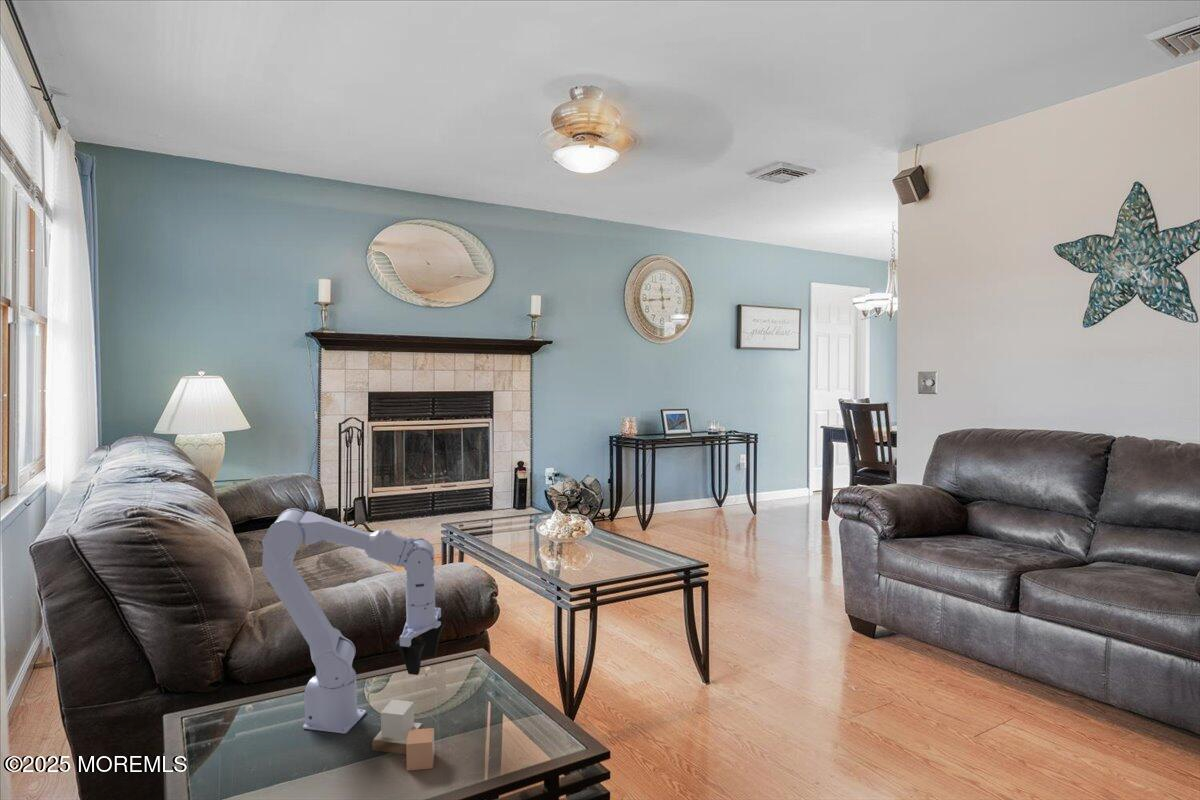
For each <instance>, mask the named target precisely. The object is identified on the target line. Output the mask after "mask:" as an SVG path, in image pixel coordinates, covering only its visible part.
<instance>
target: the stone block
mask: <svg viewBox="0 0 1200 800" xmlns="http://www.w3.org/2000/svg"><path fill="white" fill-rule="evenodd" d="M414 723H415V702H414V701H409V700H400V699H391V700H390V701H389V702H388V703H387V705H386V706H385V707H384V708H383V709H382V711H380V731H381V737H383V738H391V739H399V740H404V739H405V738H406V737H407V735H408V732H409V730H412V729H413V727H414Z"/></svg>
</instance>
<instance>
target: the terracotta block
mask: <svg viewBox="0 0 1200 800" xmlns="http://www.w3.org/2000/svg"><path fill="white" fill-rule="evenodd" d="M435 752H436V751H435V727H428V728H423V729H415V730H409V732H408V738H407V743H406V754H405V755H406V771H418V770H419V771H420V770H427V769H433V768H434V761H435Z"/></svg>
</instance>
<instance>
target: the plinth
mask: <svg viewBox="0 0 1200 800" xmlns="http://www.w3.org/2000/svg"><path fill="white" fill-rule="evenodd" d="M415 729H424V723H421V722H414V727H413V729H412V730H415ZM407 738H408V735H407V737H406V738H405V739H404V740H399V739H391V738H383V737H381V730H380V731H379V732H378V733H377V734H376V735H375V737H374V738H373V739H372V740H371V747H372V748H371V750H372V751H373V752H374V751H375V752H381V753H382V752H383V753H392V754H398V755H406V743H407Z"/></svg>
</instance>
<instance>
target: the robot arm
mask: <svg viewBox="0 0 1200 800" xmlns="http://www.w3.org/2000/svg"><path fill="white" fill-rule="evenodd" d="M392 532H393V531H392V529H389V528H385V529H384V530H381V529H378V530H375V531H373V532H367V531H365V530H361V529H359V528H356V527H354V526H350V525H347V524H345V523H342V522H339V521H336V520H334V519H330V518H328V517H325V516H323V515H320V514H318V513H316V512H313V511H304V510H303V509H301V508H295V507H294V508H293V507H292V508H288V509H285V510H283V511H282V512H281V513H280V514H279V515H278V517H277V519H276V520H275V521H274V523H272V524H271V525H270V526H269V528H268V529H267V531H266V534H265V535H264V537H263V539H262V541H261V543H262V548H263V549H262V563H261V564H262V565H261V569H262V572H263V574H264V576H265V578H266V579H267V581H268V582H269V584H270V585H271V587H272V589H273V590H274V592H275V594H276V595H277V597H278V598H279V599H280V601H281V603H282V604H283V606H284V609H286V611H287V612H288V614H289V615H290V618H291V619H292V621H293V622H294V624H295V626H296V627H297V629H298V630H299V631H300V633H301V634H302V637H303V638H304V639H305V641H306V643H307V645H308V646H309V651H310V652H309V653H310V657H311V661H312V663H313V665H314V667H315V675H314V676H312V677H311V678H310V679H309V681H308V682H307V684H306V686H305V690H304V693H303V694H304V695H303V696H304V697H303V702H304V703H303V704H304V724H303V725H302V729H305V730H313V731H320V732H329V733H336V734H337V733H338V734H345V735H346V734H347V733H348V732H349V731H350V730H351V729H352V728H353V727H354V726H355V725H356V724H357V722H359V721H360V720H361V719H362V717H364V716H365V714H366V713H367V710H366V709H362V708H361V709H360V708H358V698H357V697H358V694H357V693H358V692H357V691H358V690H357V689H358V688H357V672H356V670H355V669H354V667H353V661H354V658H355V657H356V646H355V644H354V643H353V641H351V640H350V639H348V638H347V637H345V636H344V634H342V632H341V630H339V629H338V628H336V627H334V626H333V625H332V624H331V623H330V621H329V618H328V617H327V615H326V614H325V613H324V611H323V609H322V608H321V606H320V605H319V603H318V601H317V600H316V598H315V596H314V595H313V593H312V592H311V590H310V588H309V586H308V585H307V583H306V582H305V580H304V579H303V576H302V575H301V574H300V572H299V570H298V568H297V567H296V565H295V564H294V560H295V559H294V558H295V557H296V554H297V550H298V548H299V547H300V546H301V544H302V542H303V541H304V545H305V547H307V546H311V545H313V544H315V543H318V542H321V541H327V542H330V543H335V544H339V545H342V546H346V547H351V548H355V549H360V550H363V551H364V552H365V554H366V555H367V557H368V559H373V560H374V561H378V562H383V563H385V564H390V565H392V566H395V567H399V568H401V567H402V568H404V570H405V572H406V579H405V611H406V612H405V613H406V621H405V624H404V626H403V629H402V630H403V631H402V634H400V636H399V638H398V639H397V640H396V641H395V648H396V649H397V650H398V652H399V653H400V655H401V657H402V658H403V661H404V664H405V667H406V671H407V673H408V675H415V676H418V675H419V674H420V672H421V664H422V663H421V662H422V655H423V652H424V656H425V657H429V658H430V657H431V658H435V657H436V656H437V651H438V646H439V643H440V642H439V641H440V638H441V634H442V632H443V630H444V628H445V626H446V620H444V619H440V618H441V617H442V608H441V607H436V587H435V586H436V583H435V582H436V580H435V576H434V574H435V569H434V566H435V563H436V562H435V561H436V560H435V549H434V547H433V545H432V543H430V542H429V540H426V539H424V538H423V537H419V538H415V537H413V536H410V537H409V538H407V537H404V536H402V535H398V534H394V533H392ZM420 635H421V639H422V641H419V640H418V639H417V637H418V636H420Z"/></svg>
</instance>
